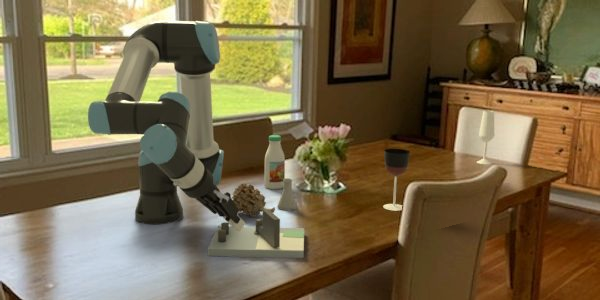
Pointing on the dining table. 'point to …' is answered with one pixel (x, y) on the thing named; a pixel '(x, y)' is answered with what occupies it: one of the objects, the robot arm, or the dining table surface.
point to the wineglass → (395, 169)
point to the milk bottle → (274, 164)
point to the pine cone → (249, 200)
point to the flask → (287, 196)
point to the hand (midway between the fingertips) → (240, 226)
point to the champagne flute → (486, 132)
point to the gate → (269, 228)
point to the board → (255, 243)
